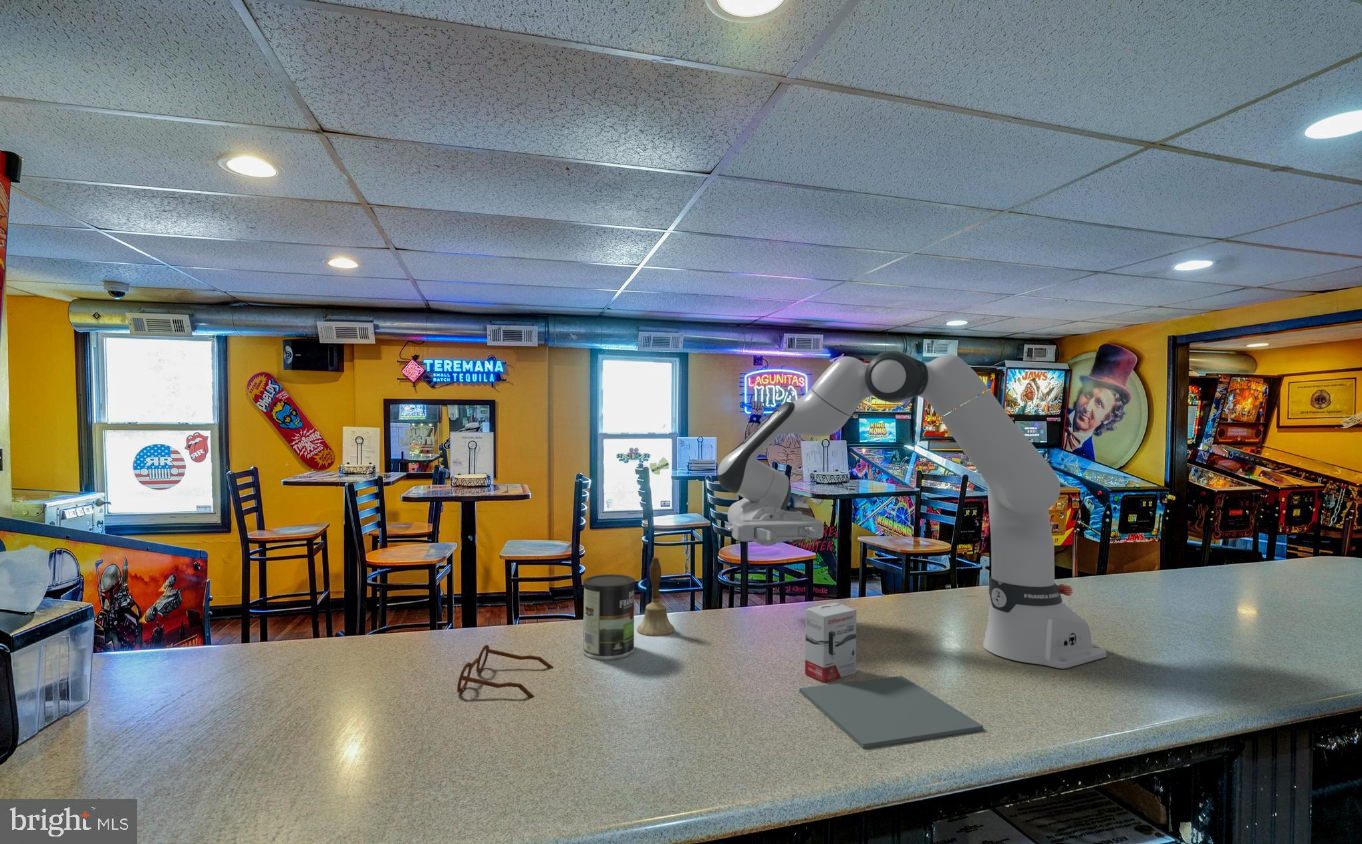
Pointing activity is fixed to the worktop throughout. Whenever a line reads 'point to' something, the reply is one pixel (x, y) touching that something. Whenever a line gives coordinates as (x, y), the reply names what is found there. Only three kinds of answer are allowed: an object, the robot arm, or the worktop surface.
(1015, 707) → the worktop surface
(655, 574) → the hand bell
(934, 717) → the rubber mat
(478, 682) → the glasses
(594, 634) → the coffee can
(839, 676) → the ink box
